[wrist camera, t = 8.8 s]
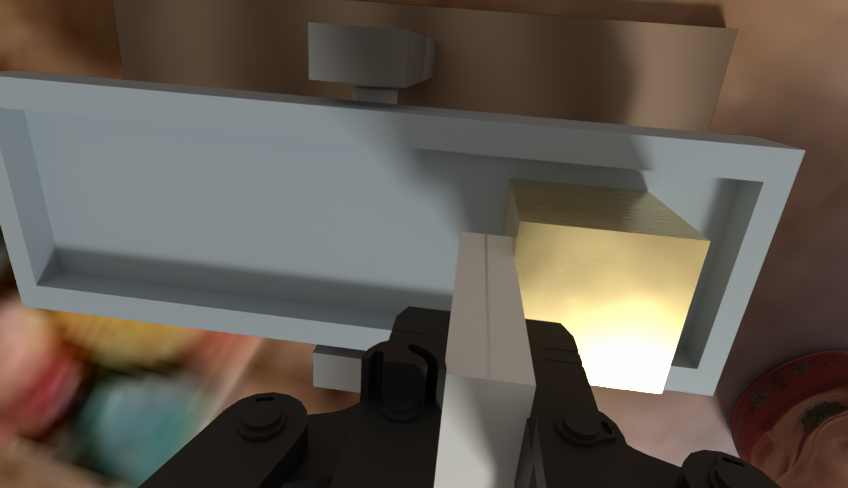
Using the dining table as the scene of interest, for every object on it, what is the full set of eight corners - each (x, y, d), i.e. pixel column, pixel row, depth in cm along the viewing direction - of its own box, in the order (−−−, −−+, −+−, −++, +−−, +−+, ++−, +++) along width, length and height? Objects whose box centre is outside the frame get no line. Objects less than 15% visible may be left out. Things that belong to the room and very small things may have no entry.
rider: (492, 297, 17) (496, 372, 13) (509, 178, 16) (520, 221, 12) (617, 311, 17) (661, 393, 13) (648, 191, 15) (710, 241, 11)
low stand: (165, 273, 30) (21, 371, 20) (124, -15, 24) (-107, -61, 14) (639, 332, 27) (719, 473, 18) (727, 30, 21) (913, 9, 12)
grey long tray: (135, 252, 25) (25, 314, 19) (102, 58, 21) (-46, 59, 15) (649, 314, 23) (709, 404, 17) (708, 111, 19) (811, 135, 13)
